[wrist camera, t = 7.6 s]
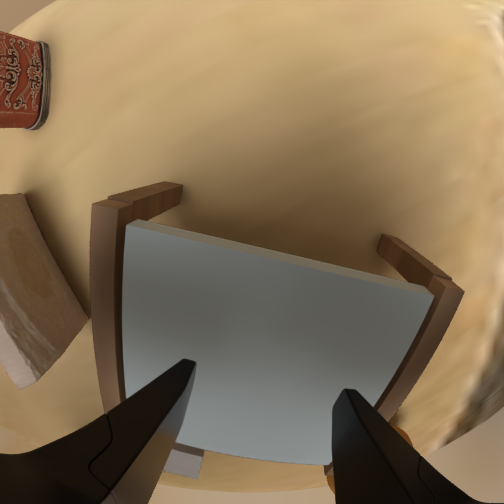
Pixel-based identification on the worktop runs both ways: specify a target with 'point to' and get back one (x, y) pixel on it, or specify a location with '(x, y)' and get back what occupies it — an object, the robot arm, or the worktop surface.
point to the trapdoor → (260, 338)
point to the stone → (184, 461)
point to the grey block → (31, 297)
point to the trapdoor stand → (168, 195)
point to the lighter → (24, 82)
